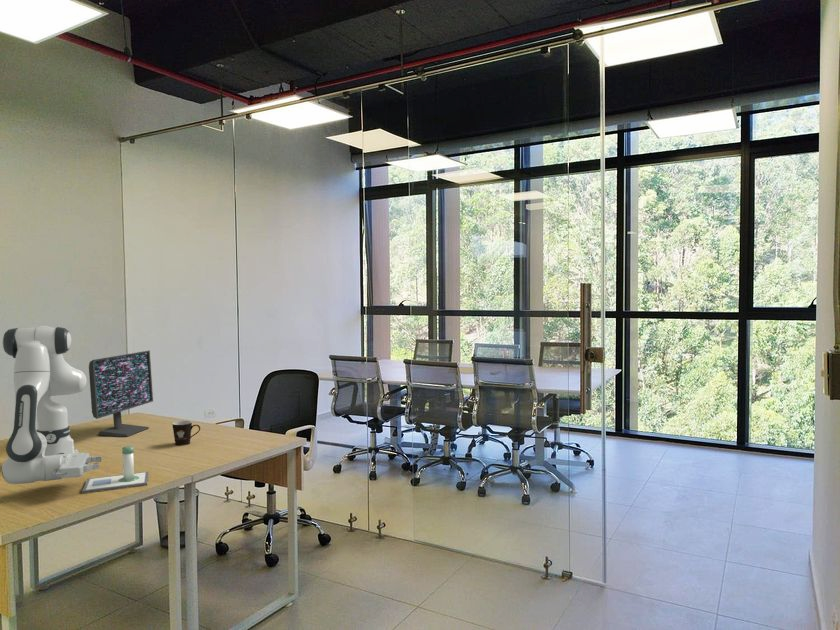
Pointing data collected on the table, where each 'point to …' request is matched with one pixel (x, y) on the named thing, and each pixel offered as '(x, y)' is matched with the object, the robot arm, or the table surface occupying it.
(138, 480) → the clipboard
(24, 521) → the table surface
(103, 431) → the computer monitor
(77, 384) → the robot arm
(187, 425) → the coffee mug
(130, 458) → the marker
